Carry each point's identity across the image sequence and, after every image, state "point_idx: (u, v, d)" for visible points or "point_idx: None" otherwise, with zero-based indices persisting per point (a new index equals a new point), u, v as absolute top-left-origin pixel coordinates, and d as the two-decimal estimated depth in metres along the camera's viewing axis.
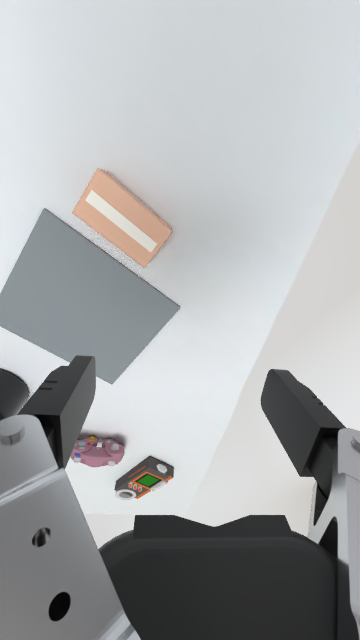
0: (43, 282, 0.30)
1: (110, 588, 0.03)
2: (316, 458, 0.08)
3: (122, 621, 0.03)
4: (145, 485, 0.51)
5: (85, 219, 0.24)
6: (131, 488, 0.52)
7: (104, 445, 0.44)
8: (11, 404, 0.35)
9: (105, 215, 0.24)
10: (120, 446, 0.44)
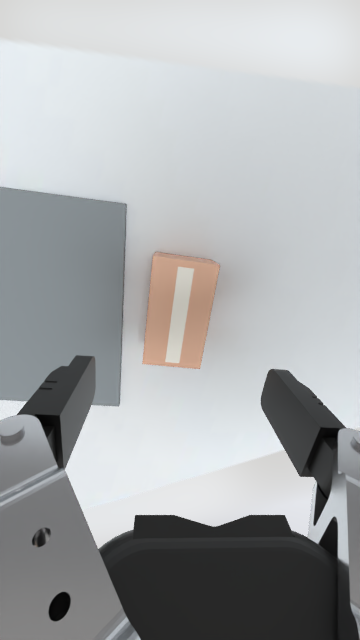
0: (22, 239, 0.19)
1: (110, 588, 0.03)
2: (316, 458, 0.08)
3: (122, 621, 0.03)
4: None
5: (155, 274, 0.17)
6: None
7: None
8: None
9: (174, 295, 0.18)
10: None
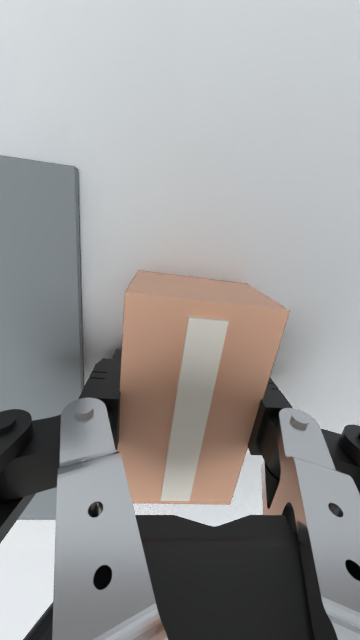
0: None
1: (146, 579, 0.03)
2: (263, 436, 0.08)
3: (154, 615, 0.03)
4: None
5: (132, 335, 0.07)
6: None
7: None
8: None
9: (180, 377, 0.08)
10: None
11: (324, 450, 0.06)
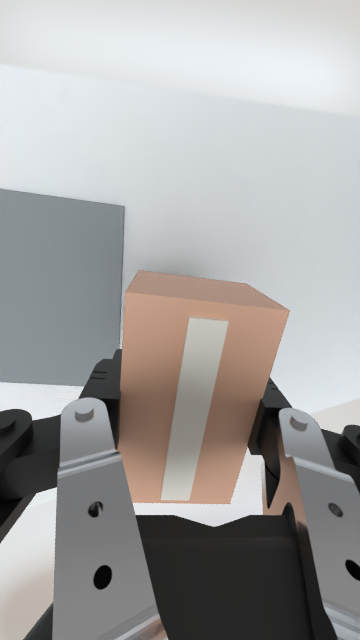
0: (32, 236, 0.22)
1: (147, 579, 0.03)
2: (263, 436, 0.08)
3: (154, 616, 0.03)
4: None
5: (132, 335, 0.07)
6: None
7: None
8: None
9: (179, 377, 0.08)
10: None
11: (324, 450, 0.06)
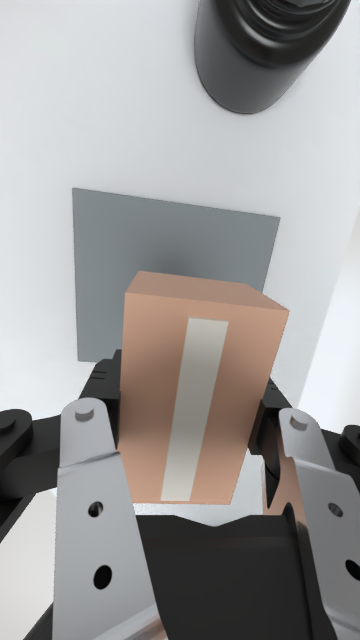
0: None
1: (147, 578, 0.03)
2: (263, 436, 0.08)
3: (154, 615, 0.03)
4: None
5: (132, 335, 0.07)
6: None
7: None
8: (216, 56, 0.16)
9: (179, 377, 0.08)
10: None
11: (324, 450, 0.06)
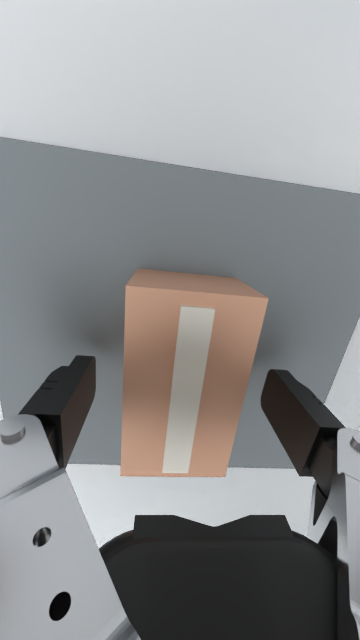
0: None
1: (110, 588, 0.03)
2: (315, 458, 0.08)
3: (122, 621, 0.03)
4: None
5: (133, 323, 0.08)
6: None
7: None
8: None
9: (175, 360, 0.09)
10: None
11: None
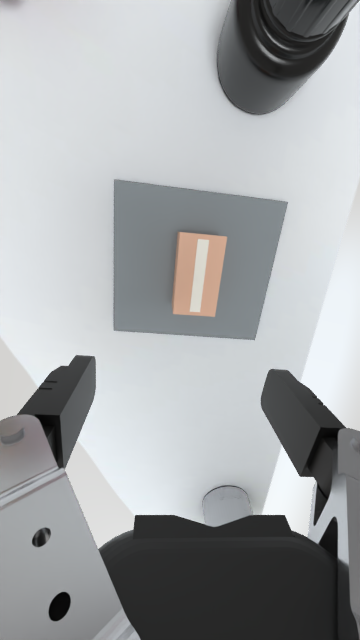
0: (241, 281, 0.31)
1: (110, 588, 0.03)
2: (316, 458, 0.08)
3: (122, 621, 0.03)
4: None
5: (181, 245, 0.25)
6: None
7: None
8: (238, 70, 0.20)
9: (195, 260, 0.25)
10: None
11: None
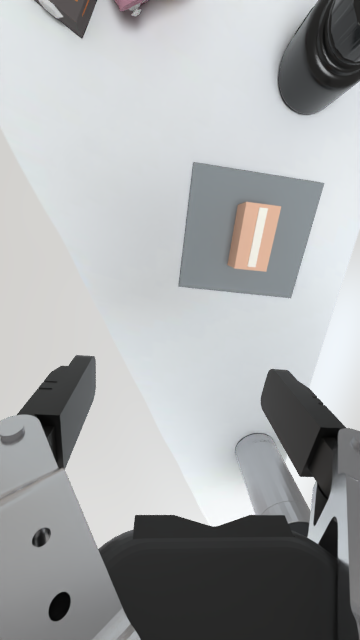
0: (283, 247, 0.38)
1: (110, 588, 0.03)
2: (316, 458, 0.08)
3: (122, 621, 0.03)
4: None
5: (246, 212, 0.32)
6: None
7: None
8: (299, 82, 0.28)
9: (255, 224, 0.33)
10: (125, 9, 0.26)
11: None
